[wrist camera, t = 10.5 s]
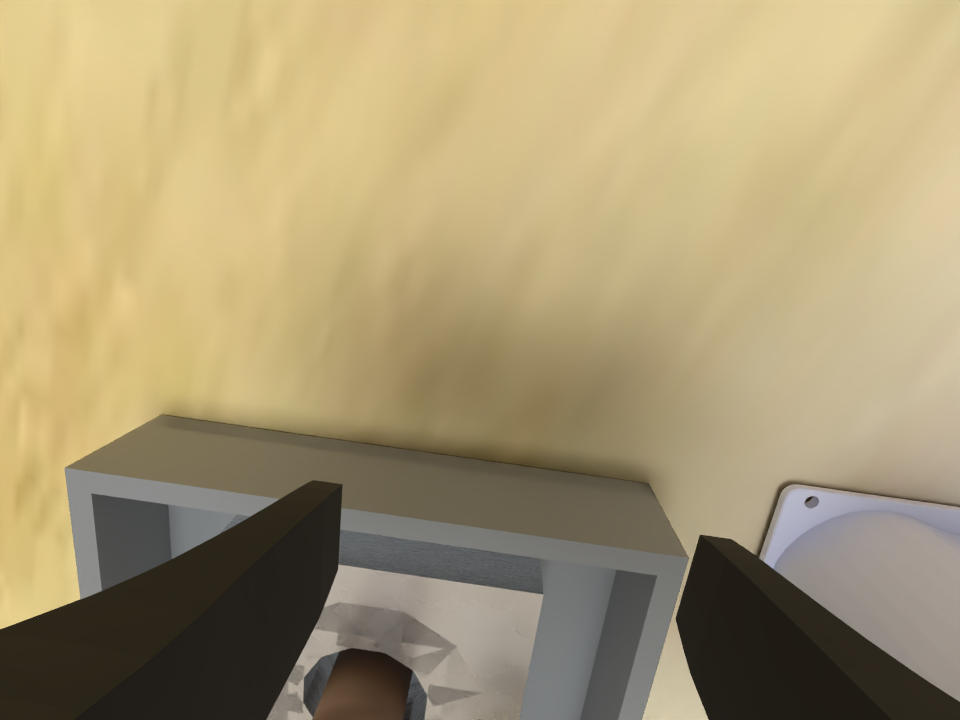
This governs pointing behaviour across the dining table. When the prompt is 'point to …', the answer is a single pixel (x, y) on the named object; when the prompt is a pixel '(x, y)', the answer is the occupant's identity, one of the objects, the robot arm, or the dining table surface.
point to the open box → (409, 536)
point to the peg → (365, 687)
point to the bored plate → (426, 626)
